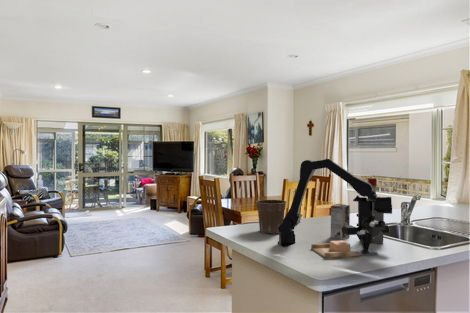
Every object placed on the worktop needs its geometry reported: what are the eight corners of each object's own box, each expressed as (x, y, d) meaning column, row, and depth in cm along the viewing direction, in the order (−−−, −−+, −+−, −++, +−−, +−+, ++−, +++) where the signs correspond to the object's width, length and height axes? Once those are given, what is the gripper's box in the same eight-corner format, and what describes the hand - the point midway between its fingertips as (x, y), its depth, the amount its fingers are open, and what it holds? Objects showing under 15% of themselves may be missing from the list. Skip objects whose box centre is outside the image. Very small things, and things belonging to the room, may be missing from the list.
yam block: (336, 253, 140) (336, 244, 140) (329, 249, 146) (329, 240, 146) (350, 252, 141) (350, 244, 141) (343, 248, 147) (343, 240, 147)
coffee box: (337, 235, 178) (337, 203, 178) (349, 237, 174) (350, 205, 174) (329, 238, 171) (330, 205, 171) (342, 240, 167) (343, 207, 167)
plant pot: (249, 231, 185) (249, 201, 185) (268, 227, 197) (269, 198, 197) (273, 237, 174) (273, 204, 174) (292, 232, 185) (292, 201, 185)
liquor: (372, 239, 171) (372, 177, 170) (386, 243, 162) (387, 179, 162) (357, 240, 167) (357, 178, 167) (370, 245, 159) (371, 179, 159)
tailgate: (356, 257, 139) (355, 254, 139) (342, 249, 150) (342, 247, 150) (377, 255, 141) (377, 252, 141) (363, 248, 152) (363, 245, 152)
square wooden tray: (325, 261, 135) (325, 253, 135) (311, 251, 149) (311, 244, 149) (358, 259, 138) (358, 251, 138) (341, 249, 152) (342, 242, 151)
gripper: (354, 216, 136) (355, 257, 136) (397, 214, 139) (398, 253, 140) (340, 212, 147) (341, 249, 147) (381, 210, 150) (381, 246, 151)
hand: (365, 249), depth 146 cm, fingers closed, pressing on tailgate
